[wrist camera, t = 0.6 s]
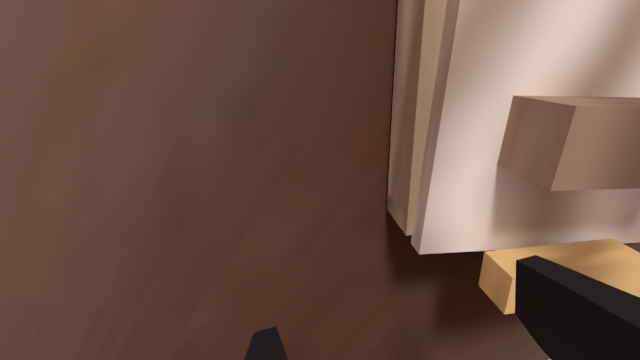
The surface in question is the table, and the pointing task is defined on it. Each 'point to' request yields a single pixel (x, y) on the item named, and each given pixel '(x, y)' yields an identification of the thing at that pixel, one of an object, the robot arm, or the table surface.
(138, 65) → the table surface
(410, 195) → the wooden tray
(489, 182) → the lid
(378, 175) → the table surface
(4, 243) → the table surface
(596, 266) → the light wooden bar
